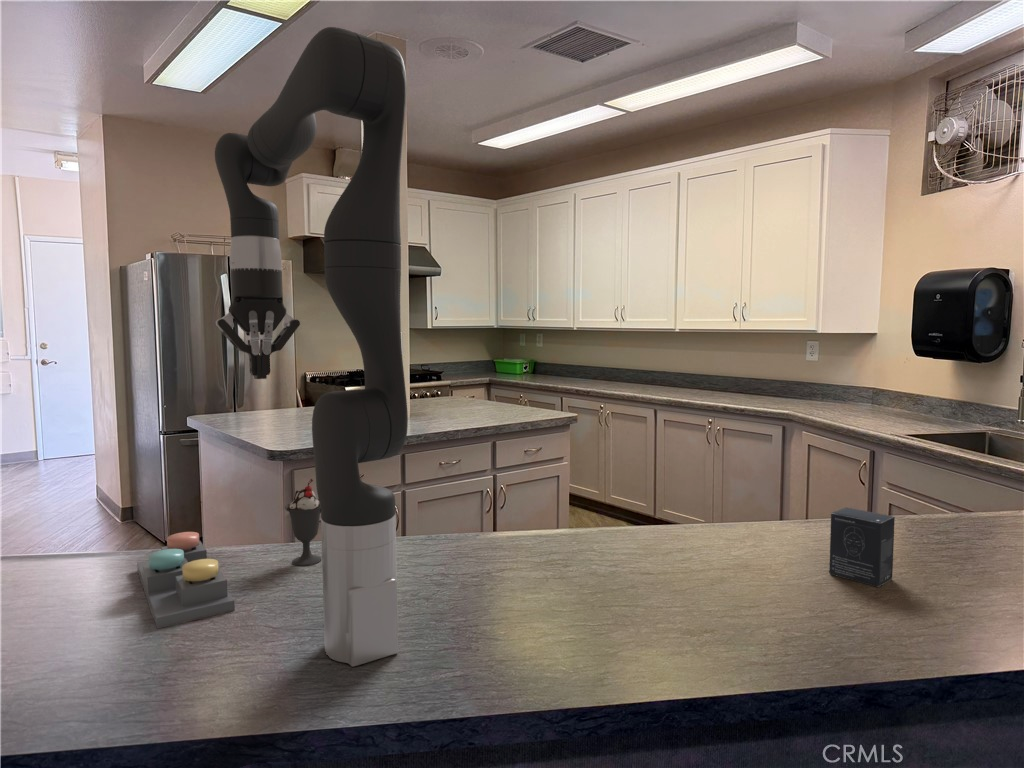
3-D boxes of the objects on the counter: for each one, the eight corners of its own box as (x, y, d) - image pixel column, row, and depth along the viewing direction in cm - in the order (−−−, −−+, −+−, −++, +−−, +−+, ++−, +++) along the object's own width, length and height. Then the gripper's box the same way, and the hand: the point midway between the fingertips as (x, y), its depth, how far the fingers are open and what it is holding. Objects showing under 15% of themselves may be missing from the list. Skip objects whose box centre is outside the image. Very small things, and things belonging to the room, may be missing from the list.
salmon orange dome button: (202, 561, 109) (201, 537, 109) (170, 567, 107) (169, 542, 106) (197, 553, 113) (196, 530, 113) (166, 558, 111) (165, 535, 110)
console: (234, 610, 95) (233, 583, 95) (157, 628, 89) (155, 600, 89) (201, 558, 116) (200, 536, 116) (137, 570, 111) (136, 547, 110)
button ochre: (222, 592, 96) (221, 565, 96) (186, 600, 94) (185, 573, 93) (215, 582, 100) (214, 556, 100) (181, 589, 98) (179, 563, 97)
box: (892, 579, 106) (895, 516, 105) (878, 588, 102) (881, 522, 101) (843, 566, 112) (845, 505, 111) (827, 574, 108) (830, 511, 107)
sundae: (320, 568, 112) (317, 482, 110) (281, 567, 112) (278, 481, 110) (331, 554, 118) (329, 473, 117) (294, 554, 118) (292, 473, 117)
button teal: (187, 580, 101) (186, 555, 100) (152, 588, 98) (150, 561, 98) (182, 571, 105) (181, 546, 104) (148, 578, 102) (146, 552, 102)
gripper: (215, 264, 95) (220, 382, 97) (306, 268, 103) (309, 378, 104) (205, 268, 101) (210, 379, 103) (292, 272, 109) (295, 375, 110)
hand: (260, 378), depth 103 cm, fingers closed
